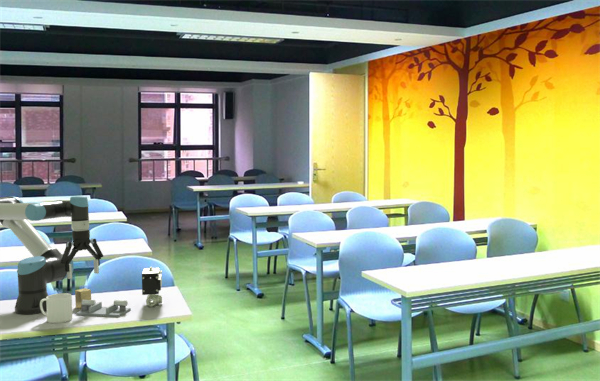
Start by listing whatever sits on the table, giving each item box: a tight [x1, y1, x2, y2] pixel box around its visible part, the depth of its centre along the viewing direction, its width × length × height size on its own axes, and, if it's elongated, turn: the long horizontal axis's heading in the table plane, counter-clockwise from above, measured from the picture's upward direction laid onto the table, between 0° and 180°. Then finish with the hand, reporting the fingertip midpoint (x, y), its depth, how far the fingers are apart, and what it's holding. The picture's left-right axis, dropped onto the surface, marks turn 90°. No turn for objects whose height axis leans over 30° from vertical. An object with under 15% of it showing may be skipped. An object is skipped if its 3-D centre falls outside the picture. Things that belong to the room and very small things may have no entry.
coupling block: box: [74, 287, 92, 310], centre depth 270 cm, size 5×5×8 cm
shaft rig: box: [75, 299, 131, 318], centre depth 261 cm, size 20×11×5 cm, turn 79°
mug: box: [40, 292, 73, 324], centre depth 250 cm, size 13×10×10 cm
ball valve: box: [141, 266, 163, 307], centre depth 273 cm, size 18×8×18 cm, turn 11°
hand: (83, 275), depth 270 cm, fingers open, 13 cm apart
